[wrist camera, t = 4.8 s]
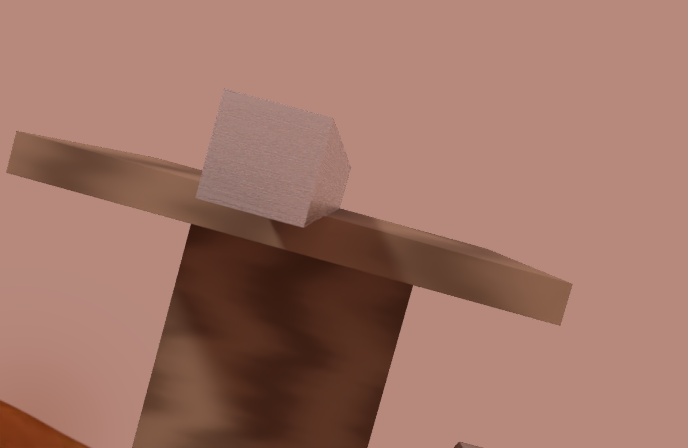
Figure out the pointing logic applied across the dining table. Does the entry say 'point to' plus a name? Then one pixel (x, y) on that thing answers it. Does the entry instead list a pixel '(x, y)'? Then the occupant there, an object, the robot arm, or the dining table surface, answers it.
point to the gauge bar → (274, 161)
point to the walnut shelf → (279, 305)
